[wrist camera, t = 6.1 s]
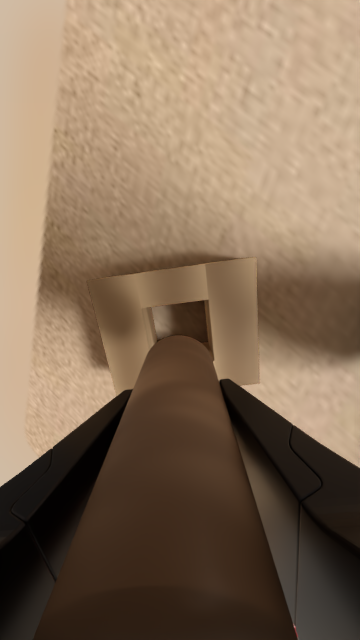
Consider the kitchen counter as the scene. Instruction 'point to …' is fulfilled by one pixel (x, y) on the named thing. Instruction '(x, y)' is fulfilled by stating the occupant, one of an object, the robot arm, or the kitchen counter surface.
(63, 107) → the kitchen counter surface
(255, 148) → the kitchen counter surface
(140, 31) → the kitchen counter surface
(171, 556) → the peg
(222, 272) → the socket block
